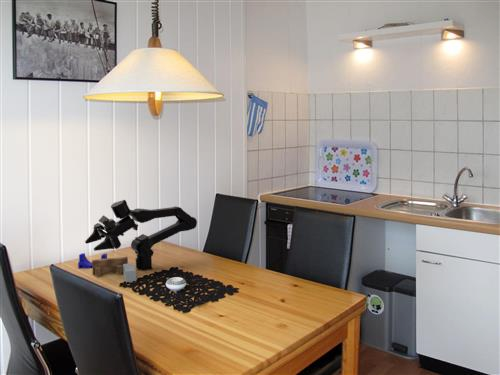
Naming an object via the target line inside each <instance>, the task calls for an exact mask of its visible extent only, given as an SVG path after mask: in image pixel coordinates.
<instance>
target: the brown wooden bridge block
mask: <svg viewBox="0 0 500 375" xmlns="http://www.w3.org/2000/svg"><path fill="white" fill-rule="evenodd" d="M128 259H129V258H128V256H120V257H119V256H118V257H110V258H108V257H107V259H101V258H98V259H92V260H91V262H92V268H91V269H92V275H95V278H98V277H99V278H100V277H102V276H101V275H103V274H113V273H114V274H115V273H116V276H117V275H118V276H119V275H123V264H129V260H128Z"/></svg>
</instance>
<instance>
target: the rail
mask: <svg viewBox="0 0 500 375" xmlns="http://www.w3.org/2000/svg"><path fill="white" fill-rule="evenodd" d="M122 275H123V278H124V280H125V283H126V284H128V283H127V282H129V283H134V282H133V281H136V282H137V270H136V267H135V266H134V264H133V262H132V263H131V262H130V263H129V262H128V264H123V272H122Z"/></svg>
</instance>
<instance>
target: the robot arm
mask: <svg viewBox="0 0 500 375" xmlns="http://www.w3.org/2000/svg"><path fill="white" fill-rule="evenodd" d="M110 208H111V210H112V212H113V214H114V216H115V218H116V219H119V220H118V221H116V220H114V219H113V218H110V219H109V218H108V217H107V216H105V215H104V214H103V215H102V216H101V217H100V219H99V218H98V222H97V223H95V224H94V225H93V230H92V231H93V232H92V233H91V234H90V235H89V236H88V238H87V239H86V240H85V241H84V243H85V244H90V243H93V242H94V243H95V242H97V241H100V240H102V239H104V240H102V241H101V242H100V243H99V244H97V245H96V246H95V247H94V248H93V251H94V252H96V251H102V250H110V249H111V250H115V249H116V250H118V249H119V248H120V247H121V246H122V243H121V240H120V238H119V237H124V236H125V234H124V233H127V232H128V231H130V230H132V229H133V231H138V228H139V224H137V223H141V224H144V223H147V222H150V221H152V220H154V219H160V218H168V217H175V218H176V219H177V220H176V222H175V223H173V224H171V225H169V226H167V227H165V228H163V229H160V230H159V231H156V232H155V233H153V234H152V233H151V234H150V235H146V234H144V233H142V234H141V235H139V236H137V237H134V239H132V241H131V244H130V248H131V250H133V251H134V253H135V254H136V257H135V269H137V271H144V270H153V269H154V268H153V266H152V265H153V264H152V263H153V262H152V260H153V259H152V256H153V255H154V252H155V251H154V250H153V249H152V248H153V247H154V245H156V244H158V243H159V242H163V241H164V240H166V239H168V238H170V237H172V236H174V235H176V234H178V233H180V232H186V231H191V230H194V229H195V228H196V227H197V225H198V221H197V219H196V217H194V216H191V215H190V214H189V213H187V212H186V211H185V210H184V209H183V208H181V207H179V206H172V207H164V208H156V209H146V208H135V209H130V207H129V204H128V202H127V200H126V199H122V200H119V201H115V202H113V203H112V204H111V205H110ZM136 222H137V223H136Z"/></svg>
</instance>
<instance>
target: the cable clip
mask: <svg viewBox="0 0 500 375" xmlns="http://www.w3.org/2000/svg"><path fill="white" fill-rule="evenodd" d="M100 256H101V257H100V259H107V258H108V254H107V253H102V254H101V255H100ZM78 258H79V259H78V260H79V261H78V262H77V265H78V266H77V267H78V268H77V269H90V268H91V269H92V261H90V260H89V259H87V257H86V253H83V252H82V253H80V254H79V255H78Z"/></svg>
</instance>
